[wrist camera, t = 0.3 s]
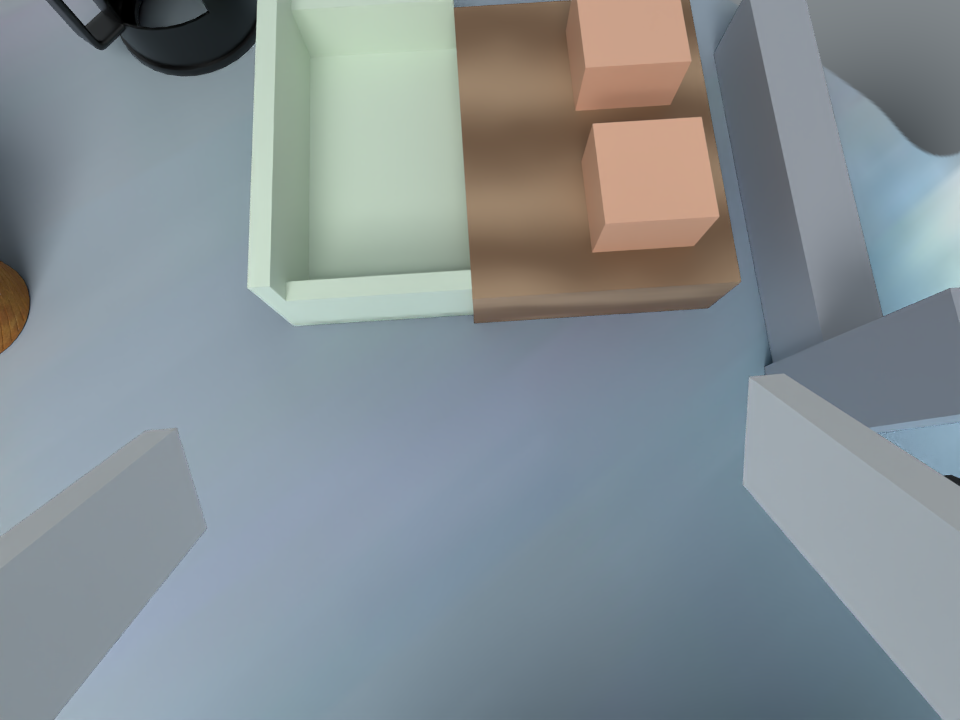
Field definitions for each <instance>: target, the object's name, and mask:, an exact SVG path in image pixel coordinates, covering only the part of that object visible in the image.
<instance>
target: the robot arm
mask: <svg viewBox="0 0 960 720" xmlns="http://www.w3.org/2000/svg"><path fill="white" fill-rule="evenodd" d="M743 486H744V487H745V488H746V489H747V490H748V491H749V493H750V494H751V495H752V496H753V497H754V498H755V500H756V501H757V502H758V503H759V504H760V506H761V507H762V508H763V509H764V510H765V511H766V513H767V514H768V515H769V516H770V517H771V518H772V520H773V521H774V522H775V523H776V524H777V526H778V527H779V528H780V529H781V530H782V531H783V533H784V534H785V535H786V536H787V537H788V538H789V540H790V541H791V542H792V543H793V544H794V546H795V547H796V548H797V549H798V550H799V551H800V553H801V554H802V555H803V556H804V557H805V558H806V560H807V561H808V562H809V563H810V564H811V565H812V567H813V568H814V569H815V570H816V571H817V573H818V574H819V575H820V576H821V577H822V578H823V580H824V581H825V582H826V583H827V584H828V585H829V587H830V588H831V589H832V590H833V591H834V593H835V594H836V595H837V596H838V597H839V598H840V600H841V601H842V602H843V603H844V604H845V605H846V607H847V608H848V609H849V610H850V611H851V612H852V614H853V615H854V616H855V617H856V618H857V620H858V621H859V622H860V623H861V624H862V625H863V627H864V628H865V629H866V630H867V631H868V632H869V634H870V635H871V636H872V637H873V638H874V640H875V641H876V642H877V643H878V644H879V645H880V647H881V648H882V649H883V650H884V651H885V652H886V654H887V655H888V656H889V657H890V658H891V659H892V661H893V662H894V663H895V664H896V665H897V667H898V668H899V669H900V670H901V671H902V672H903V674H904V675H905V676H906V677H907V678H908V679H909V681H910V682H911V683H912V684H913V685H914V687H915V688H916V689H917V690H918V691H919V692H920V694H921V695H922V696H923V697H924V698H925V699H926V701H927V702H928V703H929V704H930V705H931V707H932V708H933V709H934V710H935V711H936V712H937V714H938V715H939V716H940V717H941V718H942V719H943V720H960V478H957V477H955V476H952V475H944V476H943V475H941V474H940V473H938V472H937V471H935V470H934V469H932V468H930V467H929V466H927V465H926V464H924V463H923V462H921V461H919V460H918V459H916V458H915V457H913V456H912V455H910V454H909V453H907V452H905V451H904V450H902V449H901V448H899V447H898V446H896V445H895V444H893V443H891V442H890V441H888V440H887V439H885V438H884V437H882V436H881V435H879V434H877V433H876V432H874V431H873V430H871V429H870V428H868V427H866V426H865V425H863V424H862V423H860V422H859V421H857V420H856V419H854V418H852V417H851V416H849V415H848V414H846V413H845V412H843V411H842V410H840V409H838V408H837V407H835V406H834V405H832V404H831V403H829V402H828V401H826V400H824V399H823V398H821V397H820V396H818V395H817V394H815V393H813V392H812V391H810V390H809V389H807V388H806V387H804V386H803V385H801V384H799V383H798V382H796V381H795V380H793V379H792V378H790V377H789V376H787V375H785V374H773V375H762V376H750V377H749V385H748V402H747V419H746V436H745V453H744V470H743ZM206 529H207V526H206V522H205V519H204V516H203V512H202V509H201V506H200V503H199V499H198V496H197V493H196V489H195V486H194V483H193V479H192V476H191V473H190V469H189V466H188V463H187V460H186V456H185V453H184V450H183V446H182V443H181V440H180V436H179V433H178V430H177V428H170V429H158V430H147V431H144V432H143V433H141V434H140V435H138V436H137V437H136V438H134V439H133V440H132V441H130V442H129V443H128V444H126V445H125V446H123V447H122V448H121V449H119V450H118V451H117V452H115V453H114V454H112V455H111V456H110V457H108V458H107V459H106V460H104V461H103V462H102V463H100V464H99V465H97V466H96V467H95V468H93V469H92V470H91V471H89V472H88V473H87V474H85V475H84V476H82V477H81V478H80V479H78V480H77V481H76V482H74V483H73V484H71V485H70V486H69V487H67V488H66V489H65V490H63V491H62V492H61V493H59V494H58V495H56V496H55V497H54V498H52V499H51V500H50V501H48V502H47V503H46V504H44V505H43V506H41V507H40V508H39V509H37V510H36V511H35V512H33V513H32V514H30V515H29V516H28V517H26V518H25V519H24V520H22V521H21V522H20V523H18V524H17V525H15V526H14V527H13V528H11V529H10V530H9V531H7V532H6V533H5V534H3V535H2V536H0V720H54V719H55V718H56V716H57V715H58V714H59V713H60V711H61V710H62V709H63V708H64V706H65V705H66V704H67V703H68V701H69V700H70V699H71V698H72V696H73V695H74V694H75V693H76V691H77V690H78V689H79V688H80V687H81V685H82V684H83V683H84V682H85V680H86V679H87V678H88V677H89V675H90V674H91V673H92V672H93V670H94V669H95V668H96V667H97V665H98V664H99V663H100V662H101V660H102V659H103V658H104V657H105V655H106V654H107V653H108V652H109V650H110V649H111V648H112V647H113V645H114V644H115V643H116V642H117V640H118V639H119V638H120V637H121V635H122V634H123V633H124V632H125V630H126V629H127V628H128V627H129V625H130V624H131V623H132V622H133V620H134V619H135V618H136V617H137V615H138V614H139V613H140V612H141V610H142V609H143V608H144V607H145V605H146V604H147V603H148V602H149V600H150V599H151V598H152V597H153V595H154V594H155V593H156V592H157V590H158V589H159V588H160V587H161V585H162V584H163V583H164V582H165V580H166V579H167V578H168V577H169V575H170V574H171V573H172V572H173V570H174V569H175V568H176V567H177V566H178V564H179V563H180V562H181V561H182V559H183V558H184V557H185V556H186V554H187V553H188V552H189V551H190V549H191V548H192V547H193V546H194V544H195V543H196V542H197V541H198V539H199V538H200V537H201V536H202V534H203V533H204V532H205V531H206Z"/></svg>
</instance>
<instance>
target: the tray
mask: <svg viewBox="0 0 960 720" xmlns="http://www.w3.org/2000/svg"><path fill="white" fill-rule="evenodd" d="M247 288H248V289H249V290H251V291H252V292H253V293H254V294H255V295H257V296H258V297H259V298H260V299H261V300H263V301H264V302H265V303H266V304H267V305H269V306H270V307H271V308H272V309H274V310H275V311H276V312H277V313H278V314H280V315H281V316H282V317H283V318H284V319H286V320H287V321H288V322H289V323H290V324H292V325H293V326H305V325H320V324H336V323H351V322H367V321H382V320H398V319H413V318H429V317H445V316H460V315H474V314H473V299H472V284H471V268H470V253H469V237H468V221H467V206H466V190H465V175H464V159H463V144H462V128H461V113H460V97H459V81H458V66H457V50H456V35H455V19H454V3H453V0H257V24H256V53H255V81H254V110H253V138H252V167H251V196H250V224H249V253H248V281H247Z"/></svg>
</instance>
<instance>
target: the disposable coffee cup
mask: <svg viewBox="0 0 960 720" xmlns="http://www.w3.org/2000/svg"><path fill="white" fill-rule="evenodd" d="M28 312H29V293H28V289H27V286H26V284H25V282H24V280H23V279H22V277H21V276H20V275H19V274H18V273H17V272H16V271H15V270H14V269H12V268H11V267H10V266H8V265H6V264H5V263H3V262H2V261H0V353H1V352H3V351H4V350H5V349H7V348H8V347H9V346H10V345H11V344H12V342H13V341H14V340H15V339H16V338H17V337H18V335H19V334H20V332H21V331H22V329H23V326H24V324H25V322H26V320H27V316H28Z"/></svg>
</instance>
